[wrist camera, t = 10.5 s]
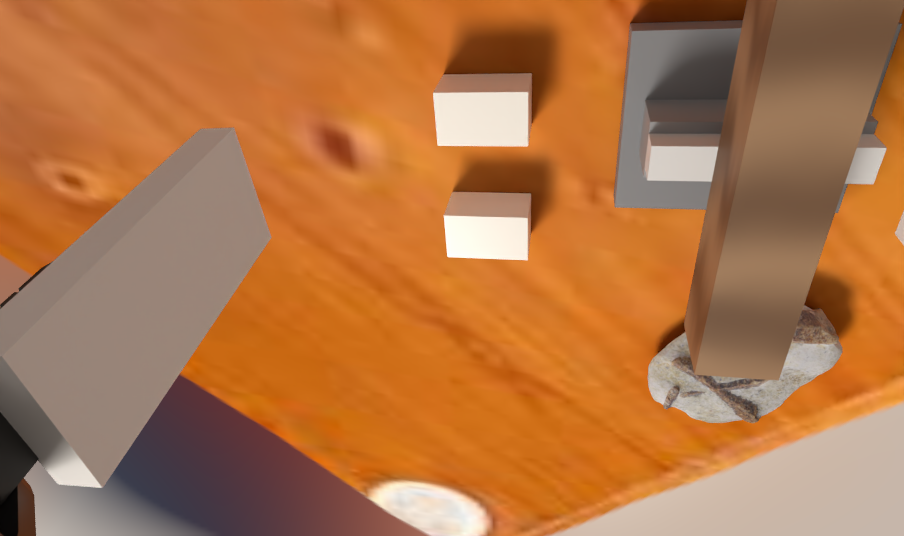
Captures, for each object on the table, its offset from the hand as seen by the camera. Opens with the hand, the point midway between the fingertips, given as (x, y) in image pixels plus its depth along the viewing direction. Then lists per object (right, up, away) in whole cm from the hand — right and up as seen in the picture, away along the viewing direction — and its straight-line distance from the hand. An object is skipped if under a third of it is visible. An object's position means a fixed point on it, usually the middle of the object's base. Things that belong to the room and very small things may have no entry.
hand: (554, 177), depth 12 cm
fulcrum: (+13, +7, +21) cm, 26 cm away
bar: (+12, +3, +16) cm, 21 cm away
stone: (+18, -7, +31) cm, 36 cm away
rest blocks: (0, +5, +25) cm, 25 cm away
